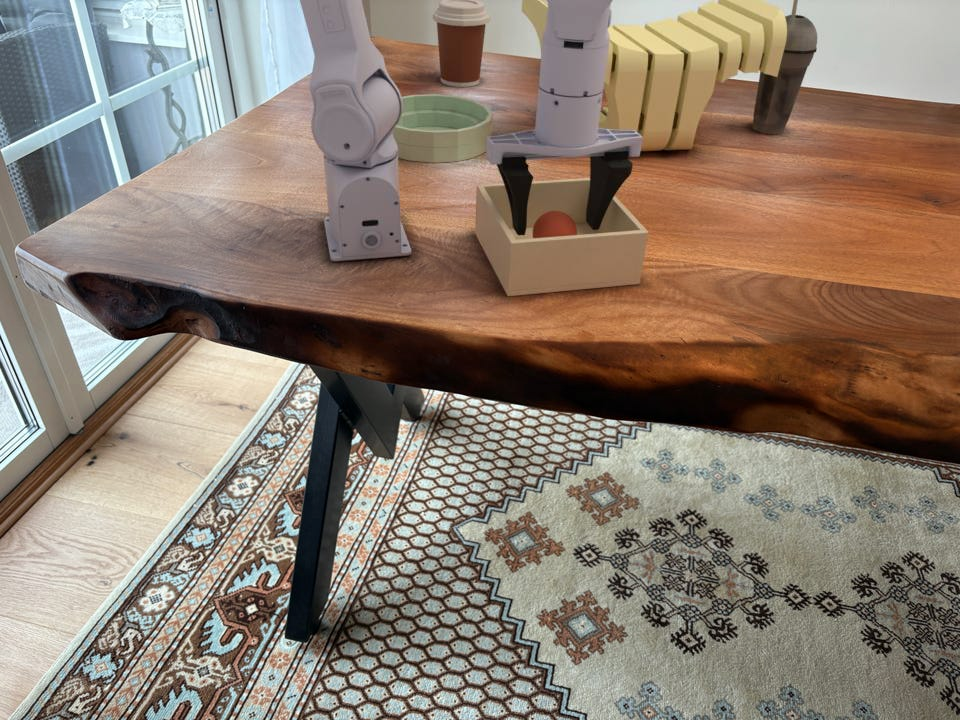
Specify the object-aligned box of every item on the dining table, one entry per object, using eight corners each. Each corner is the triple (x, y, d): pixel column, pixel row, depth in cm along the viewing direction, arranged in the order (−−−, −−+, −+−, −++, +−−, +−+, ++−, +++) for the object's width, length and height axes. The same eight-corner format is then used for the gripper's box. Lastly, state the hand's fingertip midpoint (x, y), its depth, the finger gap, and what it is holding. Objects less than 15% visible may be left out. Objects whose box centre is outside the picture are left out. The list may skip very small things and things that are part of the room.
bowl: (503, 163, 98) (505, 129, 95) (384, 170, 95) (383, 134, 92) (475, 124, 110) (476, 92, 107) (369, 129, 107) (368, 96, 104)
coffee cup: (421, 80, 127) (420, 1, 120) (457, 70, 132) (459, -6, 125) (462, 92, 122) (464, 11, 115) (498, 81, 128) (502, 3, 121)
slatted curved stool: (543, 163, 98) (556, 14, 88) (514, 122, 111) (522, -13, 101) (757, 155, 104) (793, 13, 94) (706, 116, 117) (733, -12, 106)
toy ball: (581, 260, 76) (584, 219, 74) (539, 265, 75) (540, 224, 73) (567, 241, 80) (569, 201, 77) (526, 246, 79) (527, 206, 76)
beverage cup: (804, 135, 111) (848, -17, 100) (764, 139, 109) (803, -15, 97) (771, 119, 117) (809, -27, 105) (732, 123, 115) (766, -25, 103)
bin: (639, 284, 74) (649, 232, 71) (507, 296, 71) (511, 242, 68) (591, 224, 84) (598, 177, 81) (474, 233, 81) (476, 184, 78)
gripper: (629, 73, 73) (609, 206, 80) (480, 77, 69) (475, 215, 77) (660, 95, 67) (636, 236, 75) (500, 101, 64) (492, 247, 72)
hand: (556, 228), depth 76 cm, fingers open, 7 cm apart
